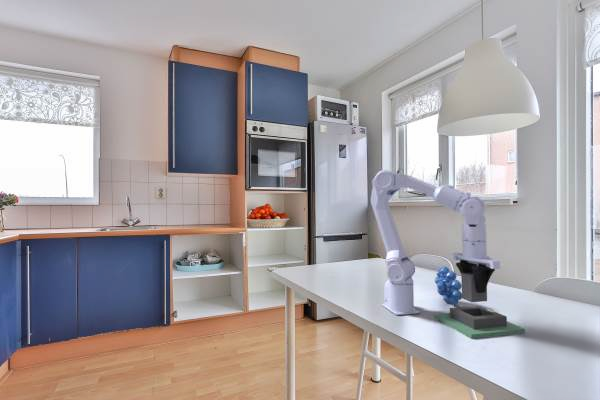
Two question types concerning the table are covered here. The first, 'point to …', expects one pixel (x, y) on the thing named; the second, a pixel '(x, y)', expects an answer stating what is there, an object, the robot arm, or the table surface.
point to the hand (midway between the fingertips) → (475, 290)
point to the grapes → (448, 285)
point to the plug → (471, 289)
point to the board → (479, 331)
